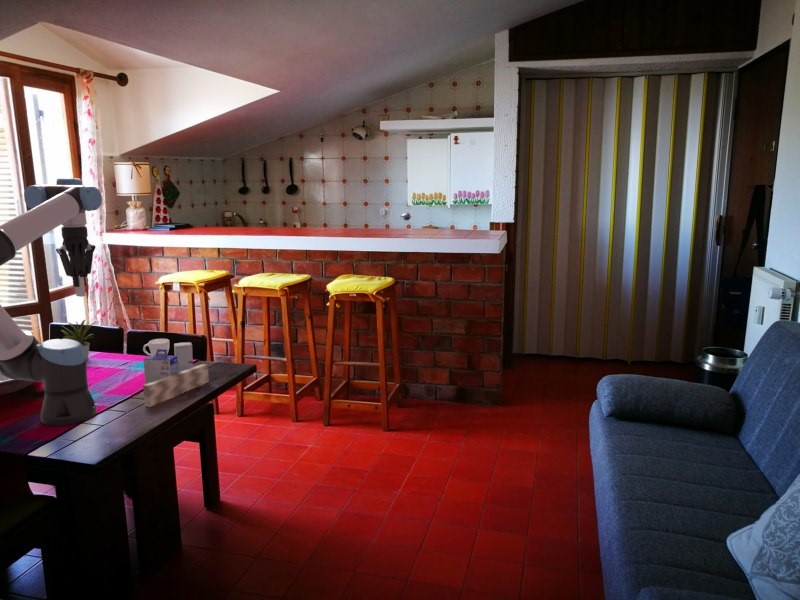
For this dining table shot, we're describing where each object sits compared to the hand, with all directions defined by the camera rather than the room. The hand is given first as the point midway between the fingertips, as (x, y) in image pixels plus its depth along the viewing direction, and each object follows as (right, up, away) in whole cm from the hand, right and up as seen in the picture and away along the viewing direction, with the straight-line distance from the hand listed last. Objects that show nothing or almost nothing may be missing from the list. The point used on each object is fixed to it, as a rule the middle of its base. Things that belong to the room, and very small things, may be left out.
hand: (80, 295), depth 206 cm
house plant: (-19, -25, +39) cm, 50 cm away
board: (+33, -33, +1) cm, 47 cm away
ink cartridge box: (+26, -33, +3) cm, 42 cm away
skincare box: (+28, -30, +20) cm, 45 cm away
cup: (+9, -25, +41) cm, 49 cm away
